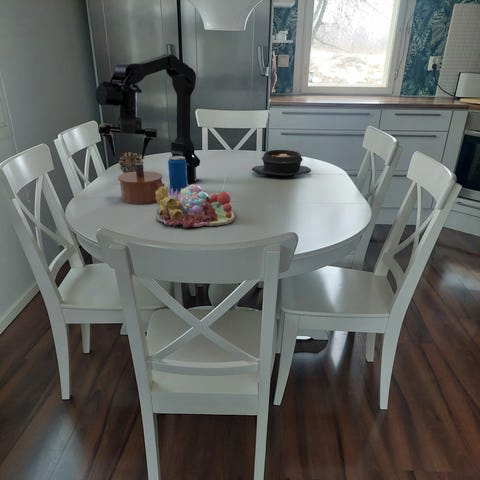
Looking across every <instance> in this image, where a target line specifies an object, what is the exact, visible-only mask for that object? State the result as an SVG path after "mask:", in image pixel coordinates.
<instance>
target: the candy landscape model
mask: <svg viewBox="0 0 480 480" xmlns="http://www.w3.org/2000/svg"><path fill="white" fill-rule="evenodd" d="M155 193H156V197H155V198H156V201H157V202H156V203H157V205H158V208H157V209H156V210H155V211H156V212H157V213H158V214H157V215H156V216H155V220H158V221H159V222H162V223H163V224H164V225H168V226H173V228H175V227H177V226H178V225H181V226H183V228H185V229H186V228H194V227H195V228H196V227H198V228H199V227H202V226H208V227H213V226H220V225H222V226H223V225H228V224H231V223H233V222H234V221H235V212H234V211H233V210H232V209H233V205H232V204H231V200H232V198H231V195H230V193H228V192H227V191H221V192H219V193H216V192H214V193H212V194H210V195H211V196H210V197H209V194H208V193H207V191H206V190H204V189H202V188H201V187H200V186H199V185H197V184H193V183H191V184H189V186H188V187H186V188H184V189H183V190H182V188H181V192H180V193H177V190H176V192H175V193H174V192H173V188H172V189H171V190H170V188H168V186H165V185H164V186H161V187H160V188H158V190H156V192H155Z"/></svg>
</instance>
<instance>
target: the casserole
mask: <svg viewBox="0 0 480 480" xmlns="http://www.w3.org/2000/svg"><path fill="white" fill-rule="evenodd" d="M261 160H262V162H263V164H261V165H255V166H253V167H252V168H251V171H252V172H253V173H256V174H262V175H263V174H264V175H269V176H271V177H276V178H288V177H289V178H290V177H293V176H294V177H295V175H304V174H310V173H311V172H312V171H313V170H312V169H311V168H310V167H309V166H306V165H301V163H302V162H303V160H304V159H303V157H302V154H301V153H300V152H299V151H295V150H290V149H288V150H287V149H272V150H267V151H265V152H264V153H263V156H262V157H261Z"/></svg>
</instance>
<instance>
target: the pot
mask: <svg viewBox="0 0 480 480" xmlns="http://www.w3.org/2000/svg"><path fill="white" fill-rule="evenodd" d="M119 184H120V193H121V200H122V201H123V202H124V203H126V204H131V205H149V204H154V203H157V201H156V198H155V197H156V193H155V192H156V190H158V188H160V187H161V186H165V183H164V182H162V179H161V180H159V181H156V182H152V183H145V184H129V183H123V182H121V181H119Z"/></svg>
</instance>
